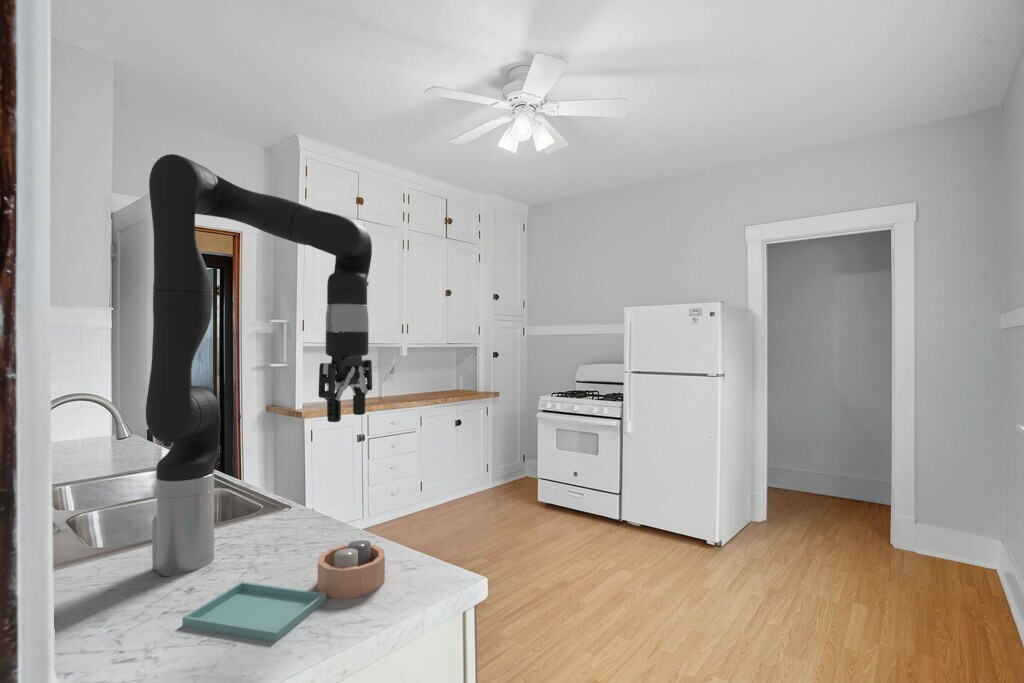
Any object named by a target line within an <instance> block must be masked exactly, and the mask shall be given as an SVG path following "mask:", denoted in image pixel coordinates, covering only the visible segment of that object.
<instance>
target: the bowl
mask: <svg viewBox="0 0 1024 683" xmlns="http://www.w3.org/2000/svg"><path fill="white" fill-rule="evenodd" d="M348 545H349V544H342V545H339V546H336V547H333V548H330V549H327V550H326V551H325V552H322V553H321V554H320V555H319V556H318V558H317V589H318V590H319V591H318V592H320V593H326V597H332V598H338V599H340V598H341V599H343V598H345V599H346V598H354V597H359V596H360V597H361V596H363V595H366V594H367V595H368V594H369V593H372V592H374V591H376V590H377V589H379V588H380V587H382V585H383V584H384V582H385V580H386V578H385V574H386V573H385V572H386V570H385V568H386V563H385V559H386V556H385V549H383V548H382V547H379V546H378V545H375V544H371V562H370V563H367V564H364V565H361V566H356V567H347V568H341V567H335V552H337V551H338V550H341V549H346V548H348Z"/></svg>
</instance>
